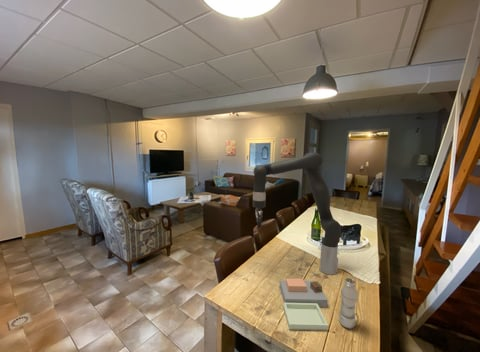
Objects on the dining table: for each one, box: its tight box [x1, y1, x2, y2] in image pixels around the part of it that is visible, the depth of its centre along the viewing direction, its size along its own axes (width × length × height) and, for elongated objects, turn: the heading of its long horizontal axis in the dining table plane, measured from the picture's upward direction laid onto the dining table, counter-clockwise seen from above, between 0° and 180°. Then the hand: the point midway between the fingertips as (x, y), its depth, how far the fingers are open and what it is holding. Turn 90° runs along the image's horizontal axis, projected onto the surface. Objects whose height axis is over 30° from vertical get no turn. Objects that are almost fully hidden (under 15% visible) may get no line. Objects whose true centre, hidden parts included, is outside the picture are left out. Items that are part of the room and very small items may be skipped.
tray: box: [282, 301, 329, 332], centre depth 88 cm, size 16×12×2 cm
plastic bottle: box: [338, 277, 359, 329], centre depth 84 cm, size 6×7×20 cm
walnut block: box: [310, 280, 323, 293], centre depth 100 cm, size 4×4×3 cm
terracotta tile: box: [285, 278, 307, 292], centre depth 101 cm, size 9×6×3 cm, turn 89°
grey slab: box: [279, 279, 329, 308], centre depth 101 cm, size 20×14×4 cm
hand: (258, 225), depth 120 cm, fingers open, 8 cm apart
